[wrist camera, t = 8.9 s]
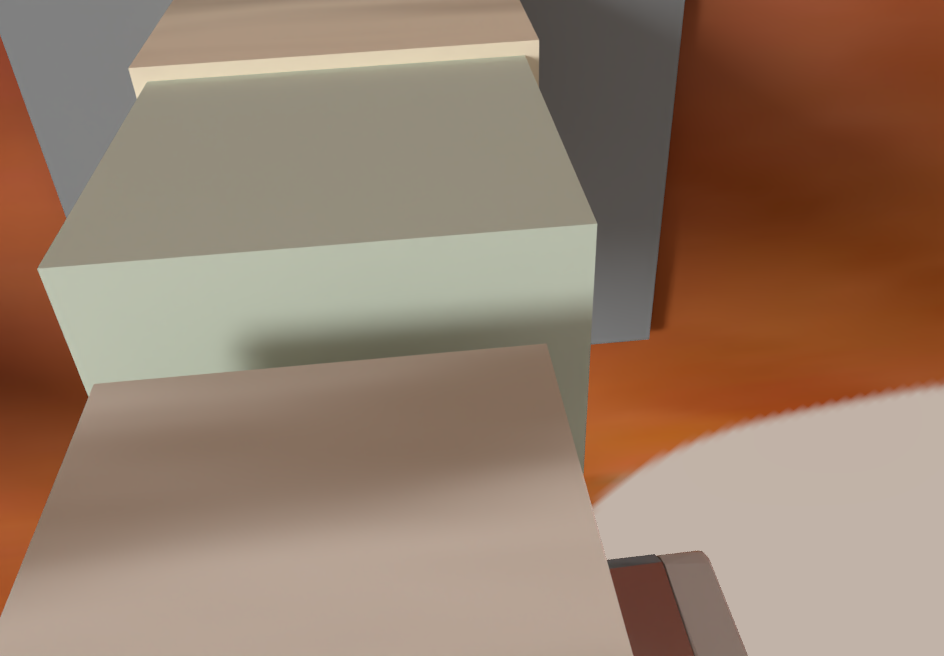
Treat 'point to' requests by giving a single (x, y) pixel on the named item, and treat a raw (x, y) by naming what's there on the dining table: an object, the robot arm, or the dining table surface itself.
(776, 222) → the dining table surface
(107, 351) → the sage block
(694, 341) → the dining table surface
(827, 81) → the dining table surface
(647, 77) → the slate mat
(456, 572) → the cream cube
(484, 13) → the birch block
